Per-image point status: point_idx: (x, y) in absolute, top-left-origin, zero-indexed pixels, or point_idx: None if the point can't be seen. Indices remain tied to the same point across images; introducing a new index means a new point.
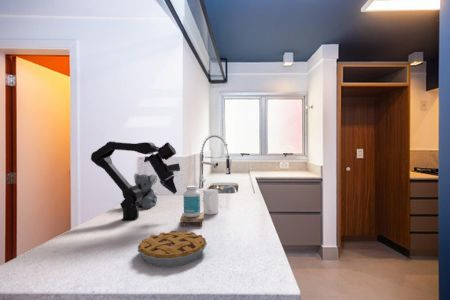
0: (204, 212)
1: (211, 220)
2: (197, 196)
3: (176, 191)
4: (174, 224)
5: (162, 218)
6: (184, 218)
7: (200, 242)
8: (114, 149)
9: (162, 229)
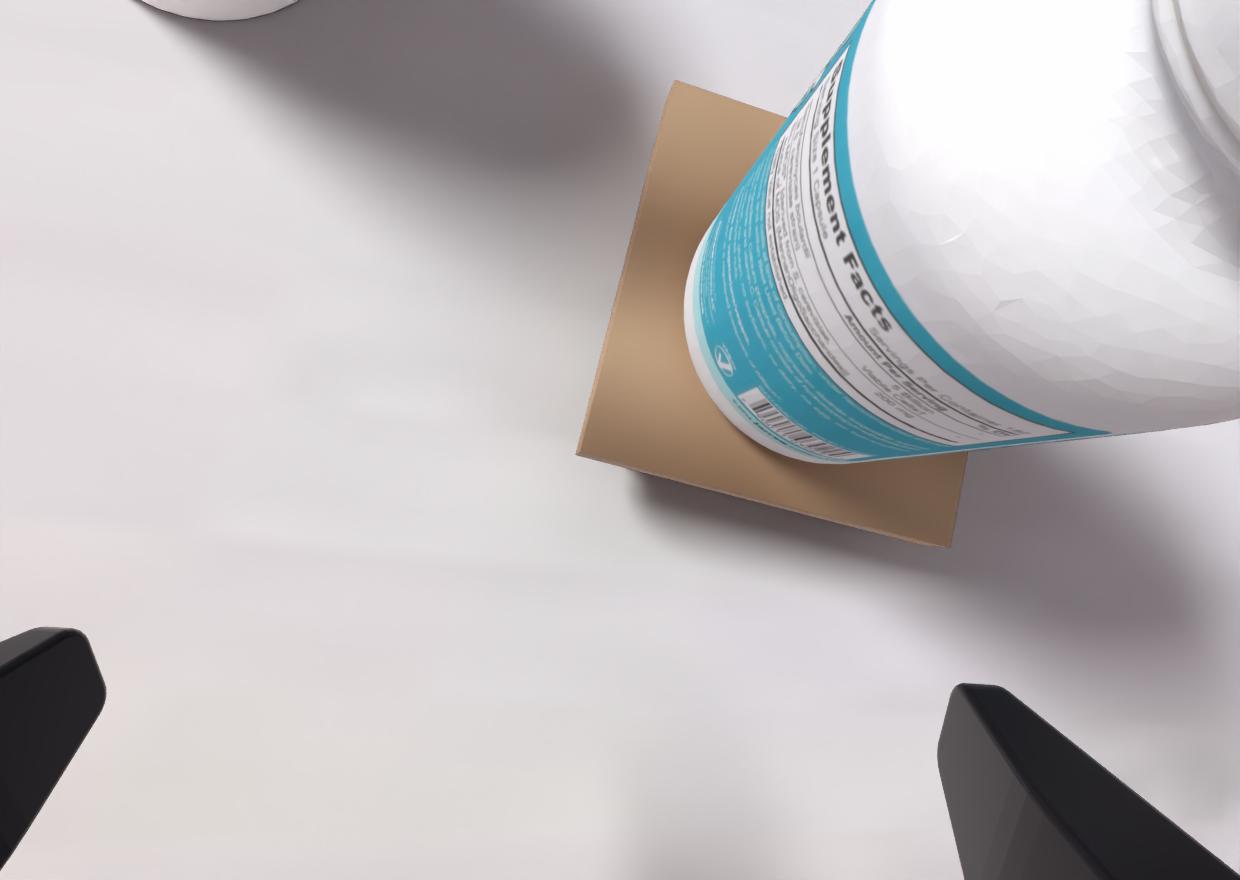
0: (247, 6)
1: (699, 51)
2: None
3: (1007, 713)
4: (736, 611)
5: (313, 797)
6: (939, 475)
7: None
8: None
9: (916, 794)
